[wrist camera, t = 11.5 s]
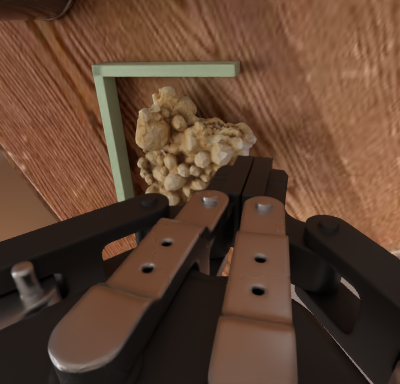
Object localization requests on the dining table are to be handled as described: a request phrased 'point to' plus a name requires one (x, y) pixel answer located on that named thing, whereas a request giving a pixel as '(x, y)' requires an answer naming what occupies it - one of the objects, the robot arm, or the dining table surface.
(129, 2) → the dining table surface
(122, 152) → the frame
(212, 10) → the dining table surface
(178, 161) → the mineral formation
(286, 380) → the robot arm
